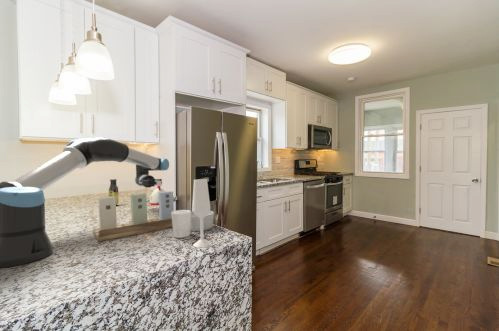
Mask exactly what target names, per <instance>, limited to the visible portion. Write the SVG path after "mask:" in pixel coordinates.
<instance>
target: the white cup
mask: <svg viewBox="0 0 499 331" xmlns="http://www.w3.org/2000/svg"><path fill="white" fill-rule="evenodd" d="M191 212H192V210H189V209H177V210H174V211H173V212H171V216H172V227H171V228H172V232H173V238H175V239H182V238H188V237H189V236H191V230H190V228H191Z"/></svg>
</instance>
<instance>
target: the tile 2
mask: <svg viewBox="0 0 499 331" xmlns="http://www.w3.org/2000/svg"><path fill="white" fill-rule="evenodd" d="M147 201H148V200H147V193H136V194H135V193H134V194H130V210H131V211H130V216H131V219H130V220H131V223H132V225H135V224H140V223H146V222H147V220H148V207H147V206H148V202H147Z"/></svg>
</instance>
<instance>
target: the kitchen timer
mask: <svg viewBox="0 0 499 331" xmlns="http://www.w3.org/2000/svg"><path fill="white" fill-rule="evenodd" d="M156 187H157V188H156V189H154V190H153V191H152V193H151V195H149V203H148V204H151V205H150V206H159V192H165V191H166V190H164V188H161V186H156Z"/></svg>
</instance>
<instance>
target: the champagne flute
mask: <svg viewBox="0 0 499 331" xmlns="http://www.w3.org/2000/svg"><path fill="white" fill-rule="evenodd" d="M192 190H193V191H192V205H191V206H192V207H191V212H193V213H194V214H195V215H196V216H197V217H198V218H200V231H199V232H200V238H199V240H197V241H196V242H195V243H193V244H192V245H193V247H194V248H206V247H210V246H211V245H212V242H210V241H209V240H207V239H205V236H204V235H205V234H204V233H205V232H204V231H205V230H204V229H203V218H204V217H205V216H206V215H207V214H208V213H209V211H211V202H210V200H211V199H210V194H209V193H210V192H209V184H208V179H206V178H199V179H193V188H192Z"/></svg>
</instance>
